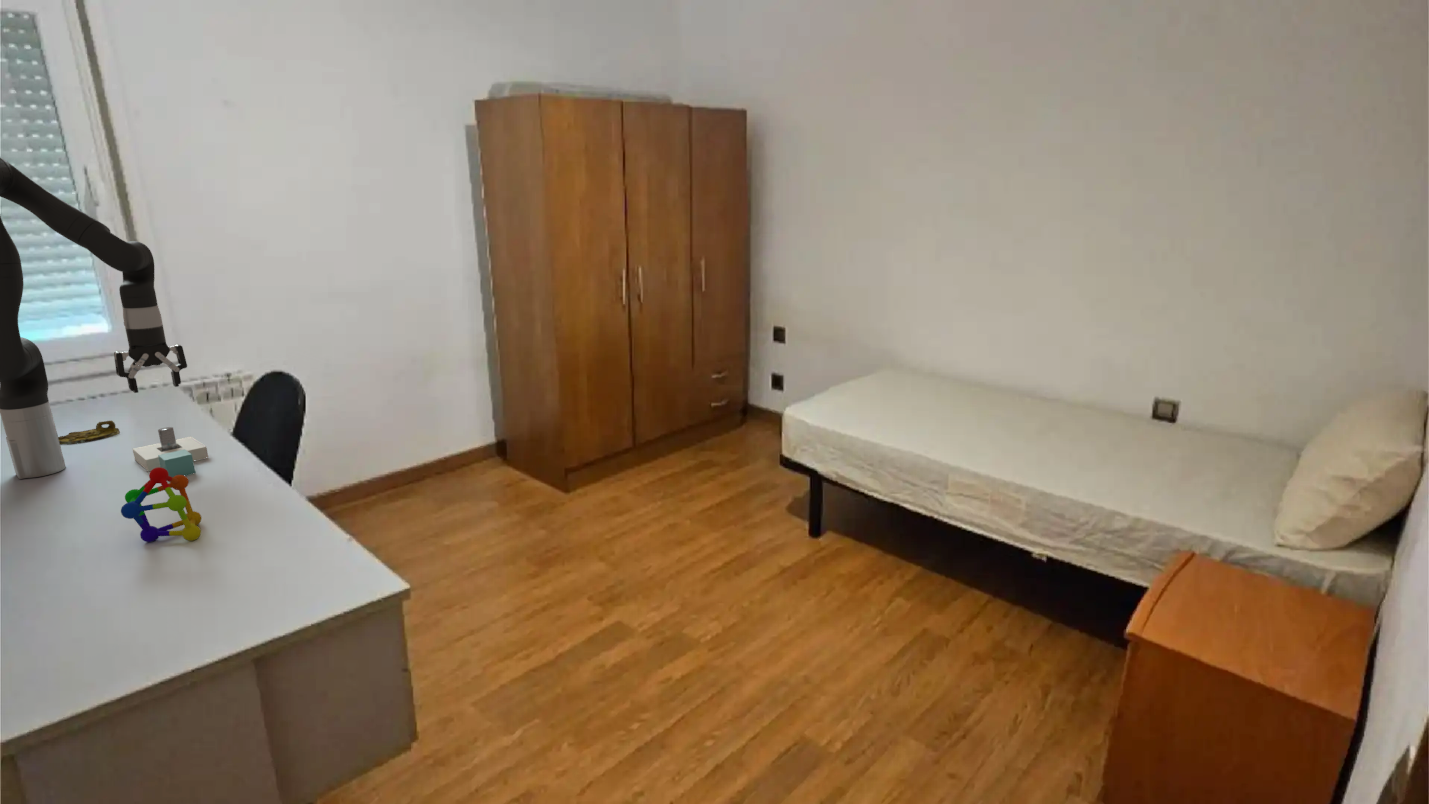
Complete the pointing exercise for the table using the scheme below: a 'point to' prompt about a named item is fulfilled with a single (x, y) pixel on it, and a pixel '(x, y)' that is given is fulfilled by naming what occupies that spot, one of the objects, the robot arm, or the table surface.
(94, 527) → the table surface
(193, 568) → the table surface
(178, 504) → the educational toy
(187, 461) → the frosted teal cube
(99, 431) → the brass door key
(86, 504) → the table surface
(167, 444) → the peg
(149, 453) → the board
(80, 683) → the table surface
